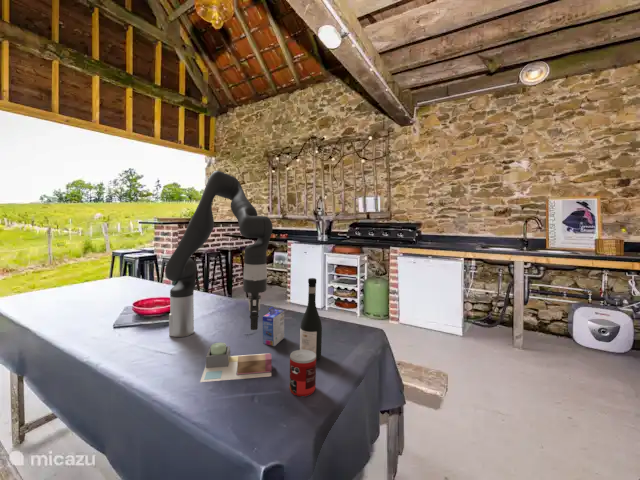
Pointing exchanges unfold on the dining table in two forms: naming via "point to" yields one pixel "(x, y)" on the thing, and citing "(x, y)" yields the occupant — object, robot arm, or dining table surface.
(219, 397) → the dining table surface
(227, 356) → the button housing
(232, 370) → the colouring board
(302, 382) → the canned food
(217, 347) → the button
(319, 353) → the wine bottle
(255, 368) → the wooden block
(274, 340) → the ink cartridge box
